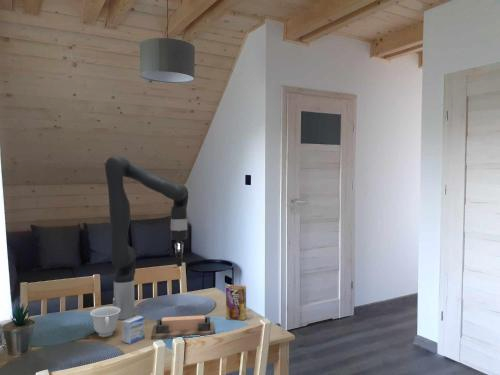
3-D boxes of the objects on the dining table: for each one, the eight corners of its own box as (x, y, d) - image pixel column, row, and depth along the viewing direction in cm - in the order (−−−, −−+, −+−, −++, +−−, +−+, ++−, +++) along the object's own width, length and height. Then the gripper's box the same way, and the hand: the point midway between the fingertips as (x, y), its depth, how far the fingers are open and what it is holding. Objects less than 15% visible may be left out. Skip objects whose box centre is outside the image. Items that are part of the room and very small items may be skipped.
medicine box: (130, 344, 162) (129, 323, 162) (122, 342, 165) (122, 320, 164) (144, 337, 169) (144, 316, 169) (137, 335, 171) (137, 314, 171)
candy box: (246, 317, 192) (246, 285, 192) (244, 320, 188) (244, 287, 187) (228, 315, 194) (228, 284, 193) (225, 319, 190) (225, 286, 189)
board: (151, 339, 167) (151, 328, 167) (153, 328, 179) (153, 318, 179) (215, 335, 171) (214, 325, 170) (213, 325, 183) (213, 315, 182)
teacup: (91, 345, 162) (91, 320, 161) (90, 331, 176) (89, 308, 175) (123, 339, 167) (122, 315, 166) (119, 327, 180) (119, 304, 180)
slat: (161, 331, 172) (161, 320, 171) (162, 327, 176) (162, 317, 175) (205, 329, 174) (204, 318, 174) (204, 325, 178) (204, 315, 178)
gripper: (171, 226, 194) (171, 263, 194) (169, 230, 180) (170, 269, 181) (187, 226, 195) (187, 262, 195) (187, 230, 182) (187, 269, 182)
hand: (179, 266), depth 188 cm, fingers closed
